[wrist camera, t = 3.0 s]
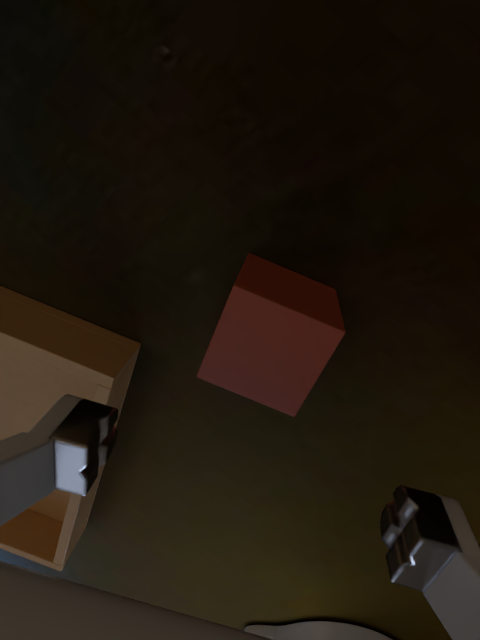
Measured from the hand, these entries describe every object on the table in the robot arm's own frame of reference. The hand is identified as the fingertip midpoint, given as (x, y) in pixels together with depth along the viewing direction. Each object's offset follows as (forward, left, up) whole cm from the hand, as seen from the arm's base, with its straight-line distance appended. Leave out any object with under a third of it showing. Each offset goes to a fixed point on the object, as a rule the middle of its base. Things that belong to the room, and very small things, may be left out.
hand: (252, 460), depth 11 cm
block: (0, 0, -11) cm, 11 cm away
